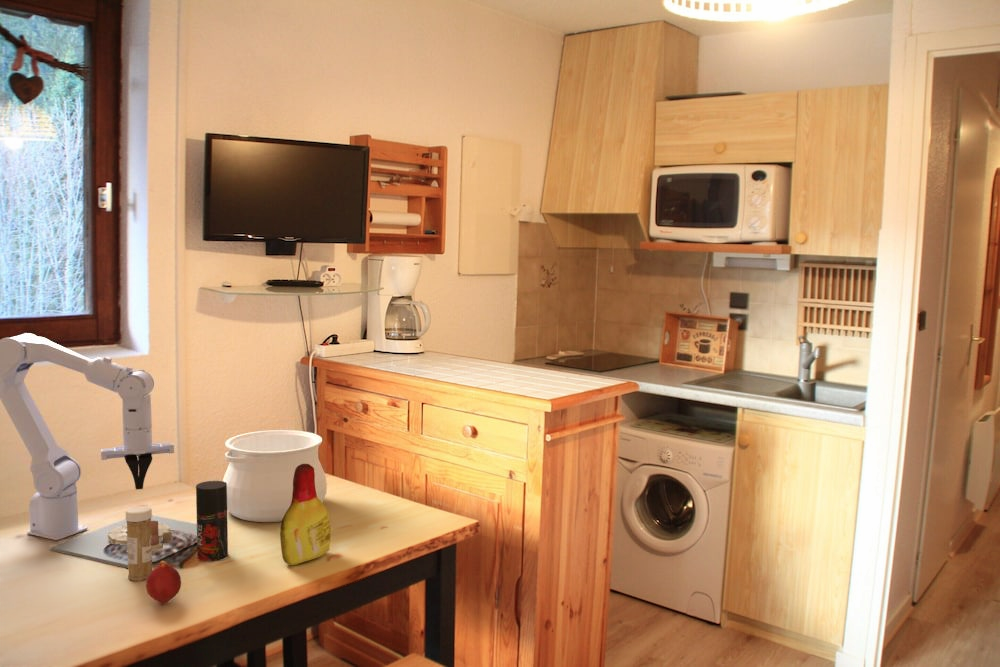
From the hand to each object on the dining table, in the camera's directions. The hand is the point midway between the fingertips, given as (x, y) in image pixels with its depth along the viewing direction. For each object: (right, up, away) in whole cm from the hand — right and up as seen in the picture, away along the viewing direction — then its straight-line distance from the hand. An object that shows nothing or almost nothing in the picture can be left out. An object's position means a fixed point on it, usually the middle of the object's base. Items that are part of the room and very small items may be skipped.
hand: (139, 488), depth 183 cm
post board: (+2, -11, -4) cm, 11 cm away
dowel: (+10, -11, -8) cm, 17 cm away
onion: (+19, -14, -34) cm, 42 cm away
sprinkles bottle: (+10, -13, -23) cm, 28 cm away
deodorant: (+20, -12, -12) cm, 26 cm away
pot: (+25, -9, +19) cm, 32 cm away
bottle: (+39, -12, -12) cm, 43 cm away
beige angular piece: (+3, -10, -6) cm, 12 cm away
